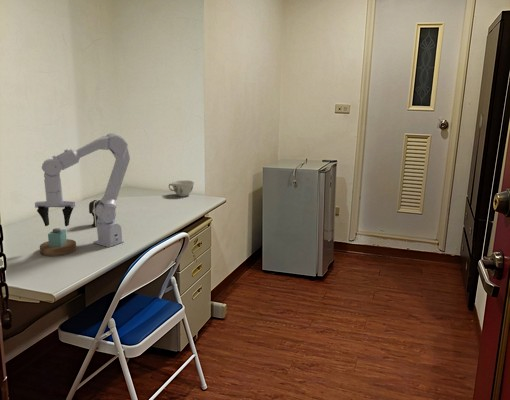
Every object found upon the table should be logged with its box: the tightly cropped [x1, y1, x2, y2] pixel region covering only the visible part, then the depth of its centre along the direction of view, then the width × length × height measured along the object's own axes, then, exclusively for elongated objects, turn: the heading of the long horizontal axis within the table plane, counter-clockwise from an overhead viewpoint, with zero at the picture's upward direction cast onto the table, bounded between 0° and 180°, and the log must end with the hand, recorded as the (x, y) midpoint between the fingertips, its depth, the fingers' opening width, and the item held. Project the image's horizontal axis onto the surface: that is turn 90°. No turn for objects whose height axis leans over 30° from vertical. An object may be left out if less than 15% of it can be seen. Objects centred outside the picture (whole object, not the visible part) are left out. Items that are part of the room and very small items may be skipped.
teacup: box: [168, 180, 195, 198], centre depth 276 cm, size 15×12×8 cm
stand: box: [39, 238, 77, 257], centre depth 184 cm, size 13×13×2 cm
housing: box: [47, 227, 68, 247], centre depth 183 cm, size 4×6×6 cm
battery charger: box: [88, 199, 101, 228], centre depth 217 cm, size 7×4×11 cm, turn 176°
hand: (57, 225), depth 183 cm, fingers open, 7 cm apart
